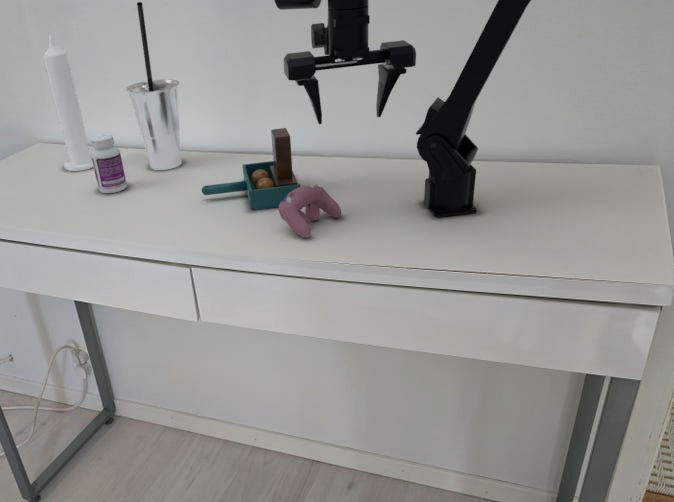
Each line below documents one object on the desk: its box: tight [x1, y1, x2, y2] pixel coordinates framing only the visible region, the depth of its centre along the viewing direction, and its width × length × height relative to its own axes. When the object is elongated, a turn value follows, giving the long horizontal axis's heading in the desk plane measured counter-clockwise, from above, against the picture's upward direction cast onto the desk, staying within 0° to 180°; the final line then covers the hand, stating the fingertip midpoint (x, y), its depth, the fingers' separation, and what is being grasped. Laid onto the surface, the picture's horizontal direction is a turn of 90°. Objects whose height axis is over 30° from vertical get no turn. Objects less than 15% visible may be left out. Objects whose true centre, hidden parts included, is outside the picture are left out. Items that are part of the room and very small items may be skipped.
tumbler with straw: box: [125, 1, 183, 171], centre depth 126 cm, size 11×11×30 cm
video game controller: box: [278, 183, 342, 239], centre depth 102 cm, size 10×5×7 cm, turn 141°
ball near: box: [256, 178, 275, 189], centre depth 113 cm, size 3×3×3 cm
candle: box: [42, 34, 94, 172], centre depth 132 cm, size 7×7×25 cm
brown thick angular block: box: [270, 127, 299, 187], centre depth 114 cm, size 4×10×10 cm, turn 5°
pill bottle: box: [90, 133, 128, 194], centre depth 123 cm, size 5×5×10 cm
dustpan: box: [201, 160, 301, 211], centre depth 115 cm, size 16×14×3 cm
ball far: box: [251, 169, 269, 187], centre depth 117 cm, size 3×3×3 cm
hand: (349, 120), depth 103 cm, fingers open, 9 cm apart
